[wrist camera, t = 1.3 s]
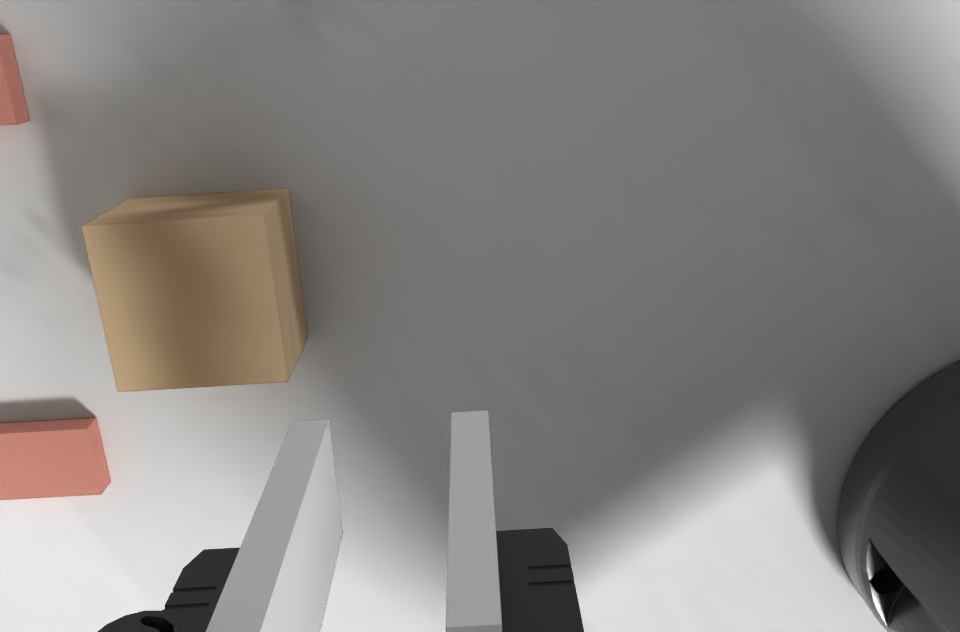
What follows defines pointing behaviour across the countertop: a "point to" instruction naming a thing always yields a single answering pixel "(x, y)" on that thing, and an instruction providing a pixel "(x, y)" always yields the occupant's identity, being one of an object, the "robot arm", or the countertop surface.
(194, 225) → the oak block
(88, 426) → the mats
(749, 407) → the countertop surface
